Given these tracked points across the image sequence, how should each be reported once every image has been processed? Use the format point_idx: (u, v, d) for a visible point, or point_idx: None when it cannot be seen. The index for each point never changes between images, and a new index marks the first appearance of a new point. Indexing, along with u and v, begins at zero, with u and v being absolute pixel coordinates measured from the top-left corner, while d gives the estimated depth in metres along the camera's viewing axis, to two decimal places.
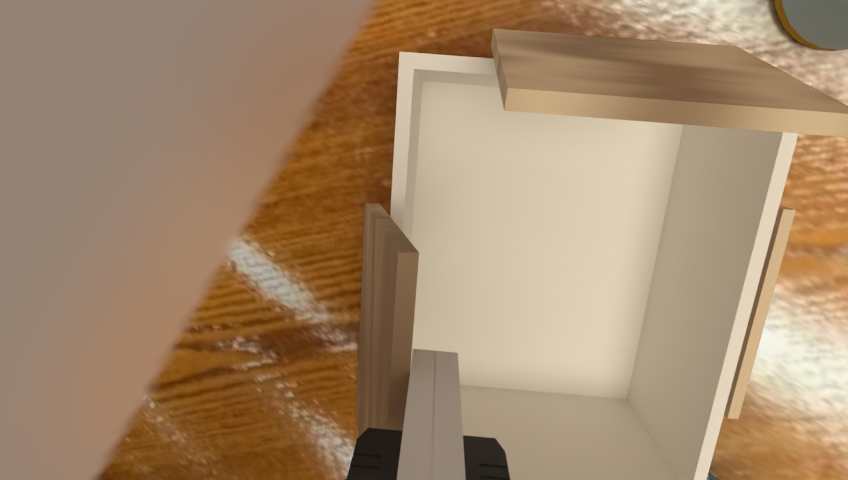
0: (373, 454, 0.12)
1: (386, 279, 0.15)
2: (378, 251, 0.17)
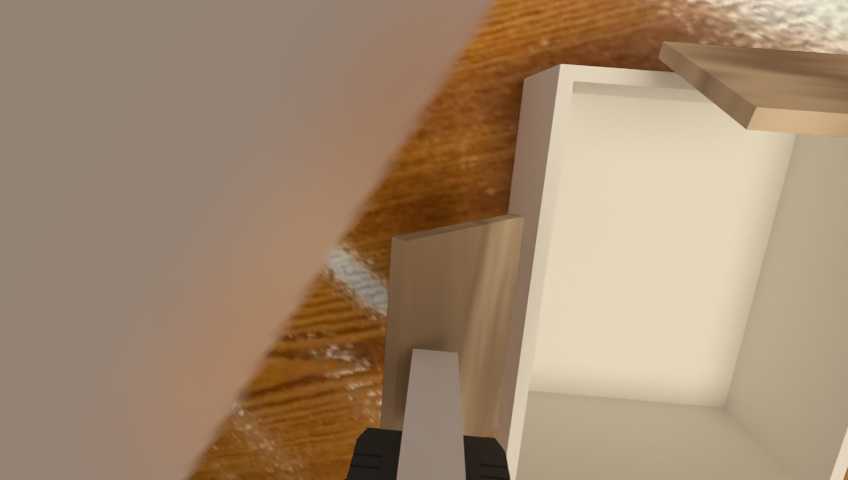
0: (373, 454, 0.12)
1: None
2: None
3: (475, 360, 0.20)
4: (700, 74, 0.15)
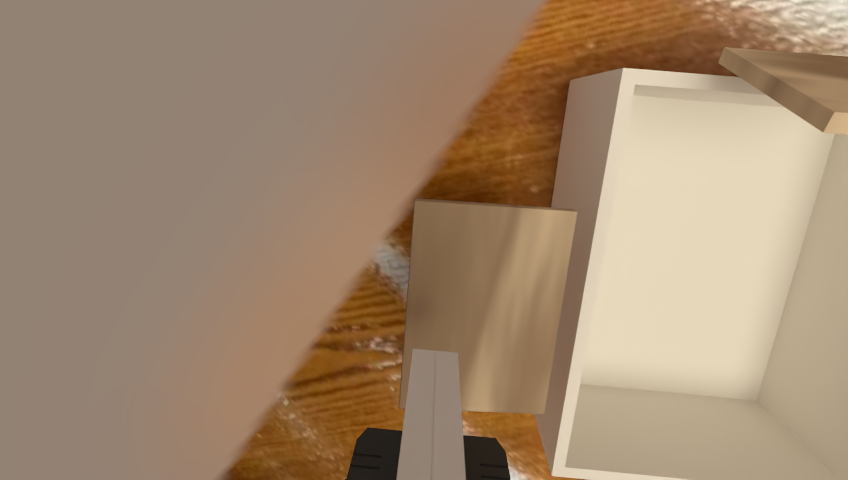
0: (373, 454, 0.12)
1: None
2: None
3: (505, 329, 0.22)
4: (768, 79, 0.16)
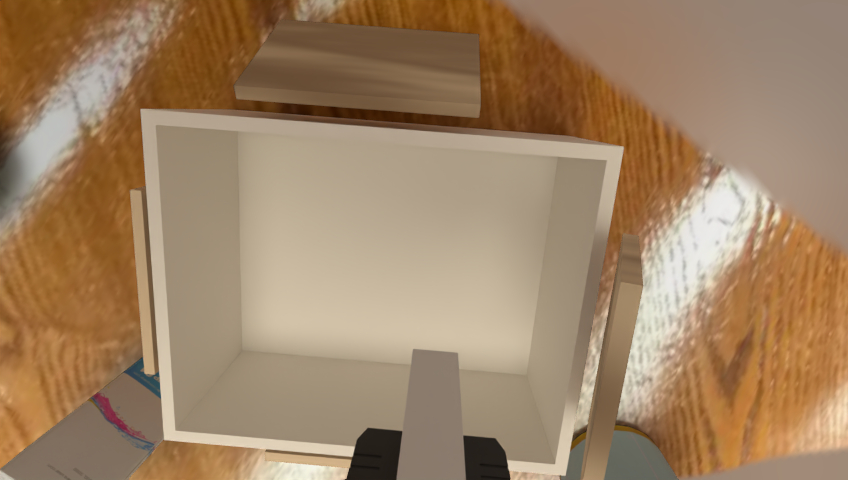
0: (373, 454, 0.12)
1: None
2: None
3: (350, 66, 0.21)
4: (635, 256, 0.17)
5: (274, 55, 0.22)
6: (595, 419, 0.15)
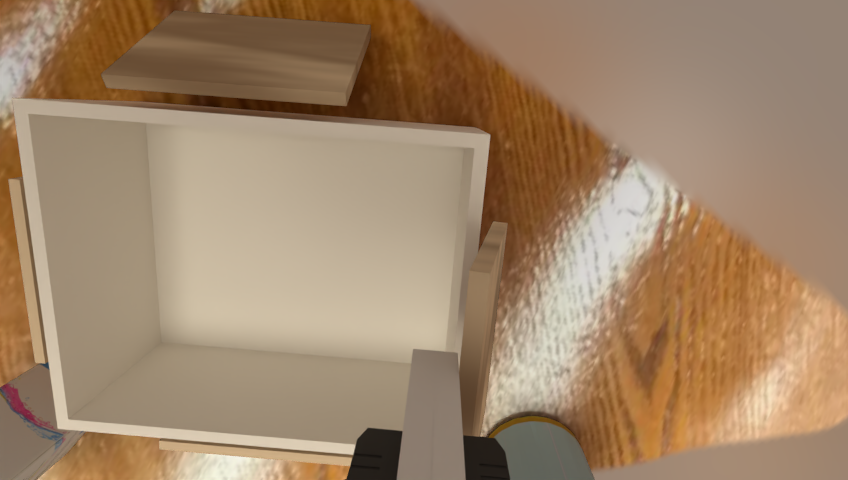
0: (373, 454, 0.12)
1: None
2: None
3: (227, 56, 0.22)
4: (495, 243, 0.17)
5: (153, 45, 0.22)
6: None
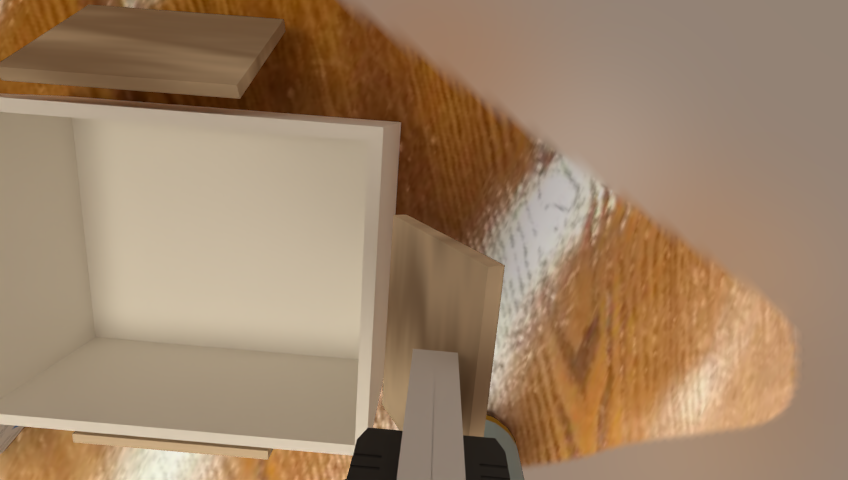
0: (373, 454, 0.12)
1: None
2: None
3: (128, 49, 0.22)
4: (444, 236, 0.18)
5: (56, 38, 0.22)
6: (472, 402, 0.16)
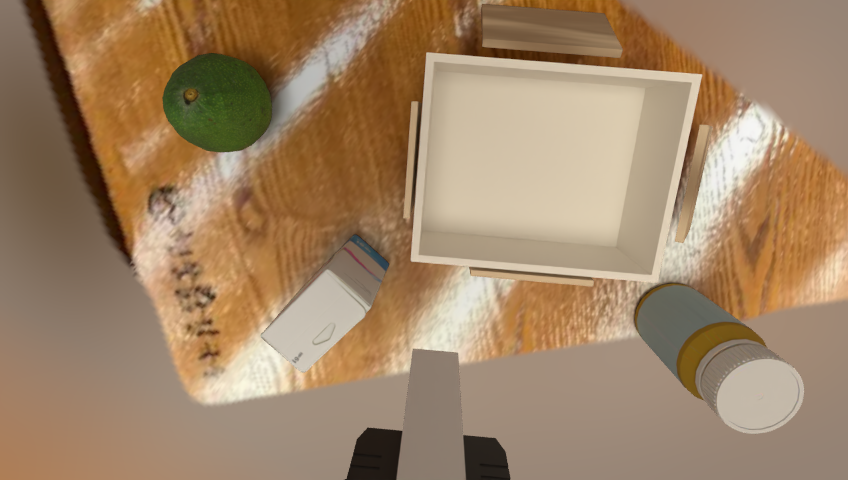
0: (373, 454, 0.12)
1: None
2: None
3: (540, 29, 0.37)
4: None
5: (493, 23, 0.37)
6: (700, 180, 0.43)
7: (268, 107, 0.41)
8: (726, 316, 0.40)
